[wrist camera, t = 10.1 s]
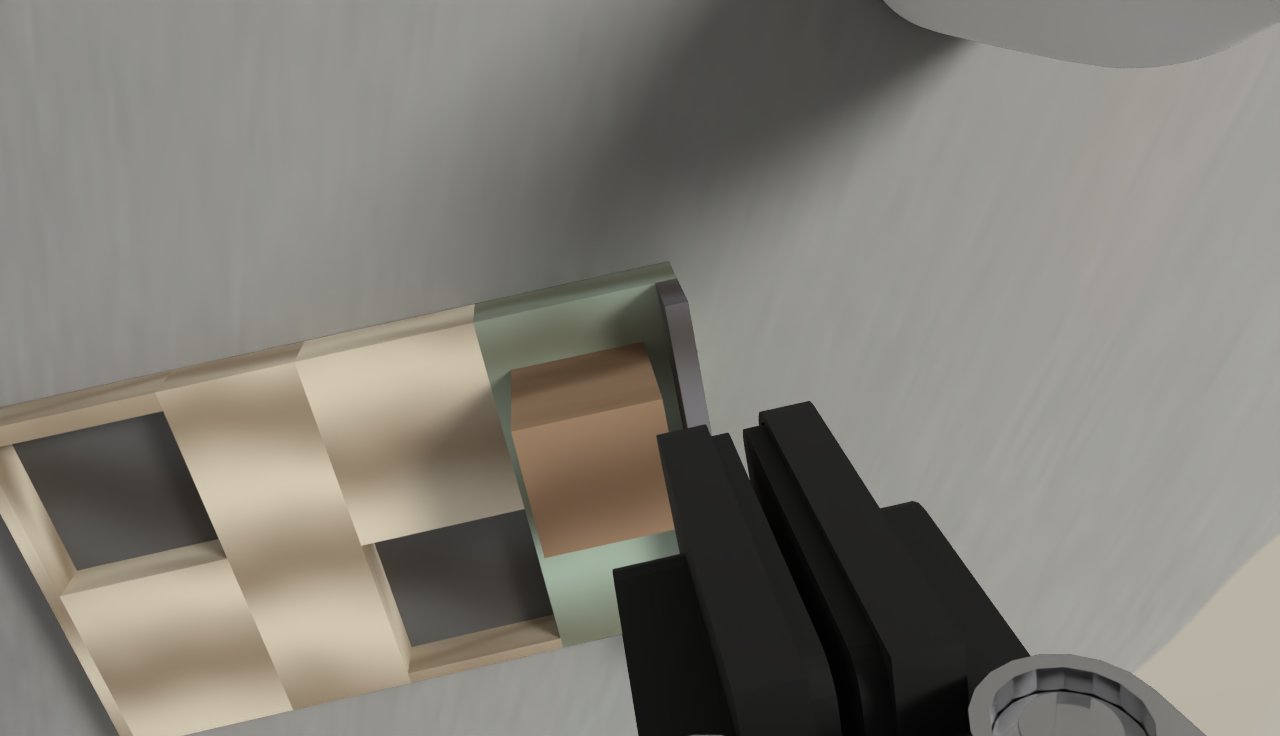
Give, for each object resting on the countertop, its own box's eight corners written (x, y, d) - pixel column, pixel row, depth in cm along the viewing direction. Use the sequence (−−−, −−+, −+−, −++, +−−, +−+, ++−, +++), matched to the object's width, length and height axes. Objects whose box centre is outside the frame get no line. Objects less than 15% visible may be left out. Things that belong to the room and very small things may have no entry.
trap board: (-15, 410, 37) (-80, 470, 33) (668, 261, 38) (687, 301, 34) (142, 714, 43) (104, 795, 39) (727, 579, 44) (749, 646, 40)
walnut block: (510, 369, 37) (511, 431, 32) (643, 341, 37) (662, 398, 32) (540, 485, 39) (544, 558, 34) (666, 457, 39) (686, 527, 34)
